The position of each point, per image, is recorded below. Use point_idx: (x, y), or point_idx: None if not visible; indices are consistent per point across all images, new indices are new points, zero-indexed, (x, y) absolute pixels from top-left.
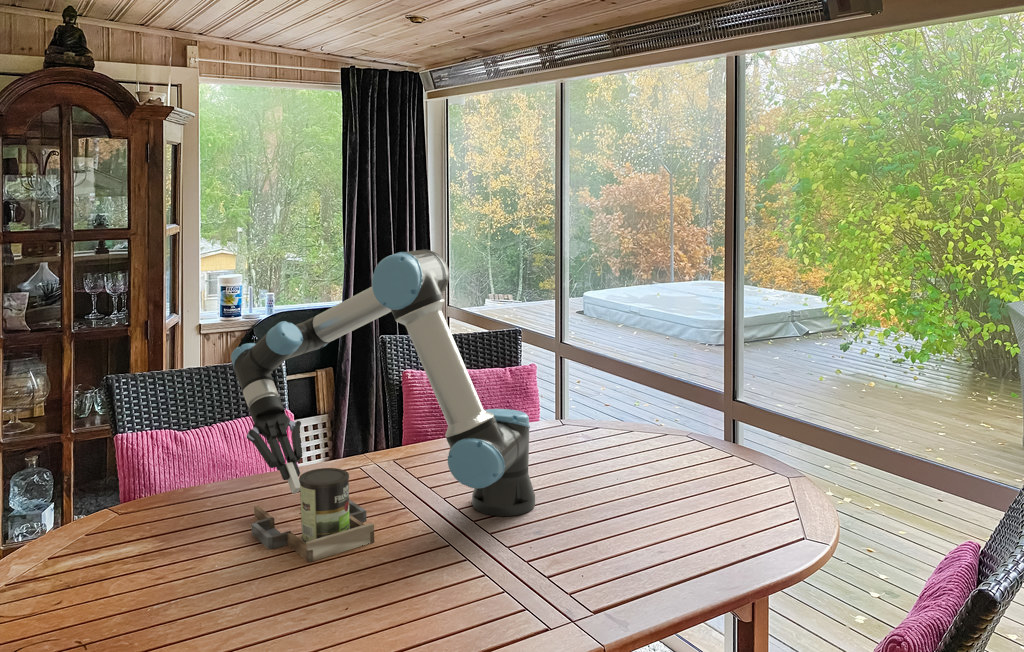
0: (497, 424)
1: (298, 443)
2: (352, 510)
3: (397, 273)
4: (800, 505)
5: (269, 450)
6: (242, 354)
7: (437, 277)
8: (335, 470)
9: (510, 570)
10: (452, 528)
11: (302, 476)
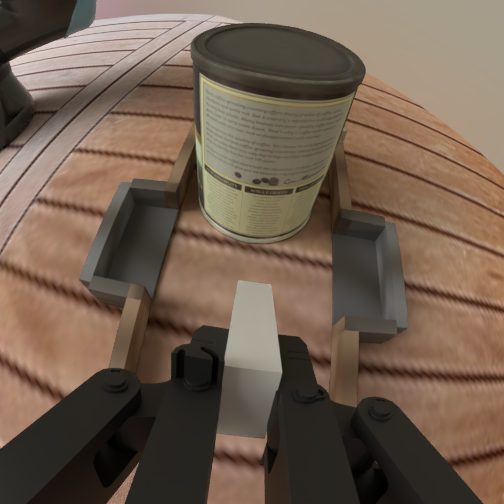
0: None
1: (25, 462)
2: (115, 239)
3: None
4: None
5: (429, 494)
6: None
7: None
8: (209, 51)
9: (160, 47)
10: (88, 108)
11: (347, 74)
